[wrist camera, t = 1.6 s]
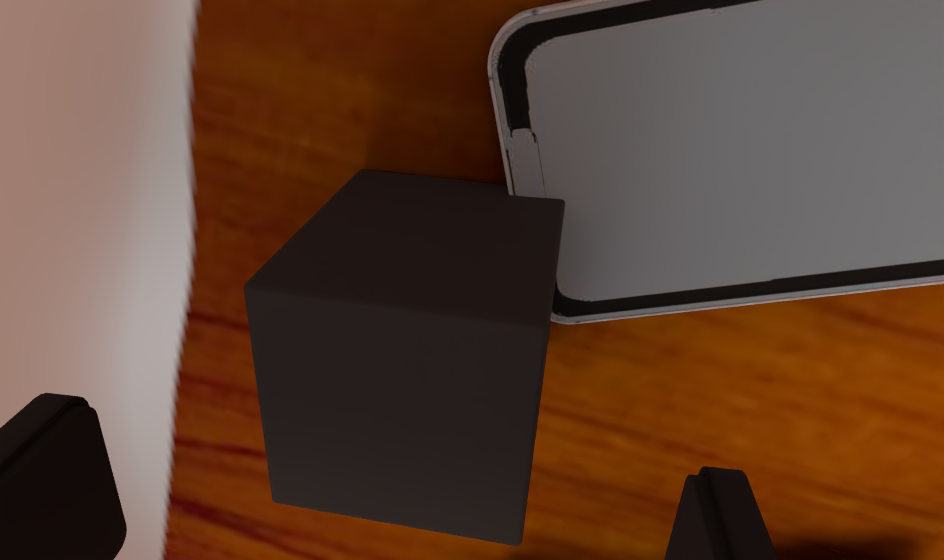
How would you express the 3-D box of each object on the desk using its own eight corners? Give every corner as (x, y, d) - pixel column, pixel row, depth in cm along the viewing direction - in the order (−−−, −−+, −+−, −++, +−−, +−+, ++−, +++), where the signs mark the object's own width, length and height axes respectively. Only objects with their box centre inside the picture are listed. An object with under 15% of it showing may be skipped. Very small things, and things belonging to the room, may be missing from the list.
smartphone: (1245, 253, 14) (532, 330, 16) (1208, 236, 14) (533, 314, 17) (1397, -163, 10) (478, 18, 13) (1340, -155, 11) (481, 14, 14)
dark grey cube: (359, 167, 16) (240, 284, 11) (567, 189, 15) (548, 326, 10) (365, 339, 18) (270, 503, 13) (544, 365, 18) (521, 548, 12)
